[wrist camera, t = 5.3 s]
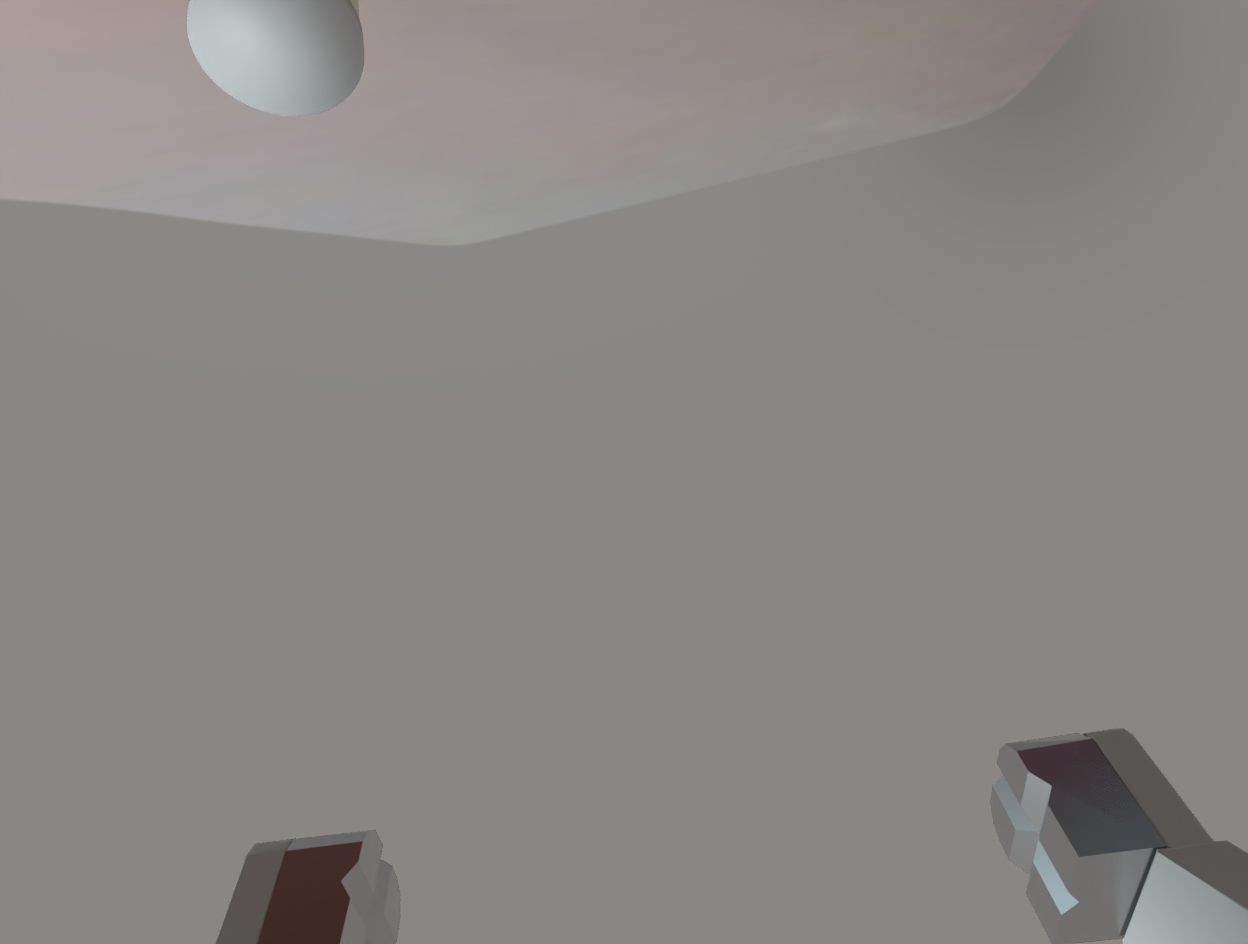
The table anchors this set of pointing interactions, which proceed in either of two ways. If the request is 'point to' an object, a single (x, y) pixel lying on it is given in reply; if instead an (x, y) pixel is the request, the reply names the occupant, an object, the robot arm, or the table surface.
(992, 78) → the table surface
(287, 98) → the tin
